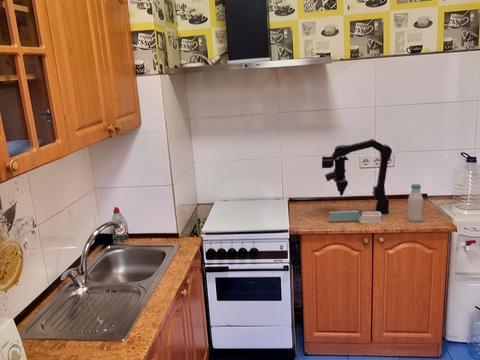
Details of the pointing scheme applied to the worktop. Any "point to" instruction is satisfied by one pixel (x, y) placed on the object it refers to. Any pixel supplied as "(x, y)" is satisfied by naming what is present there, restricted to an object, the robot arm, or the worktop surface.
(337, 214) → the teal square rod
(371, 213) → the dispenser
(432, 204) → the worktop surface
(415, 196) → the milk bottle
